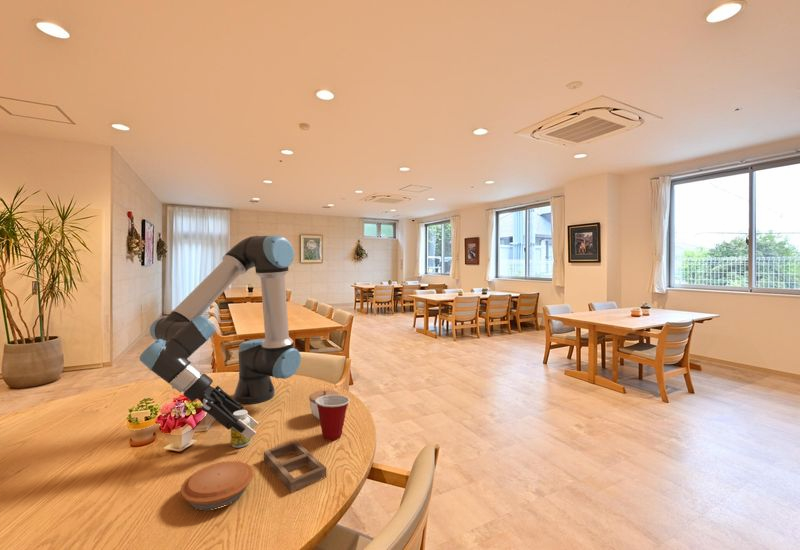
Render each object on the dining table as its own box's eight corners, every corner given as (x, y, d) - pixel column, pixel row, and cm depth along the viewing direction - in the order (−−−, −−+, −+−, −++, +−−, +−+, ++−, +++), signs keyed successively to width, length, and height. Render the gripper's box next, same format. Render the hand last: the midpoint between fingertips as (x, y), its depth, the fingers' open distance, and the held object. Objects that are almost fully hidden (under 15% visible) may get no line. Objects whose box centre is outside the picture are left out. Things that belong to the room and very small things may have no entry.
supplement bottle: (254, 440, 109) (254, 410, 108) (241, 449, 104) (241, 417, 103) (239, 437, 110) (239, 407, 110) (226, 446, 105) (226, 414, 105)
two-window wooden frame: (263, 460, 99) (263, 451, 99) (296, 448, 105) (296, 440, 105) (291, 492, 85) (291, 482, 85) (326, 477, 91) (326, 467, 91)
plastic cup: (355, 430, 116) (355, 395, 116) (339, 447, 106) (339, 407, 106) (326, 425, 120) (326, 390, 119) (308, 440, 110) (308, 402, 109)
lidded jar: (343, 410, 132) (343, 386, 131) (335, 424, 121) (335, 397, 121) (315, 409, 133) (315, 384, 132) (304, 422, 122) (304, 395, 122)
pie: (174, 526, 74) (174, 503, 74) (186, 483, 88) (186, 463, 88) (254, 506, 80) (254, 485, 80) (253, 469, 95) (253, 451, 94)
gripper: (191, 381, 111) (248, 427, 116) (171, 405, 93) (239, 457, 99) (210, 364, 112) (265, 409, 117) (193, 383, 94) (260, 436, 100)
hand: (253, 431), depth 108 cm, fingers closed on supplement bottle, 5 cm apart
